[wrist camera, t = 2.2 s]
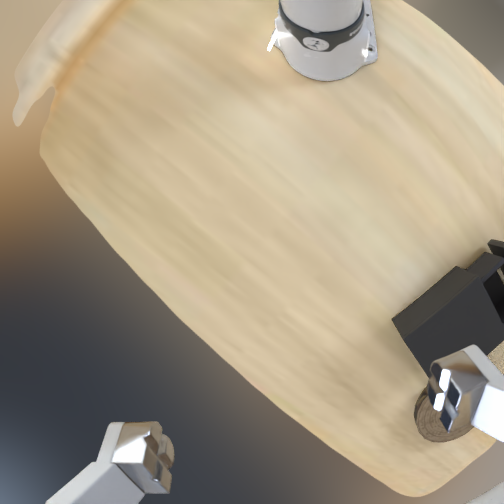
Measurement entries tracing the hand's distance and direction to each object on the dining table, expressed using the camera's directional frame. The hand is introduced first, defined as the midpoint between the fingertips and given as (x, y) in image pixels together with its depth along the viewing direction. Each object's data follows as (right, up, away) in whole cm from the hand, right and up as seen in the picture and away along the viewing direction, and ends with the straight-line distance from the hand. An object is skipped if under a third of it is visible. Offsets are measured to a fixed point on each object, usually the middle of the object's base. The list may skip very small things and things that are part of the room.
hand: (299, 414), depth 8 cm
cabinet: (+32, -7, +40) cm, 51 cm away
